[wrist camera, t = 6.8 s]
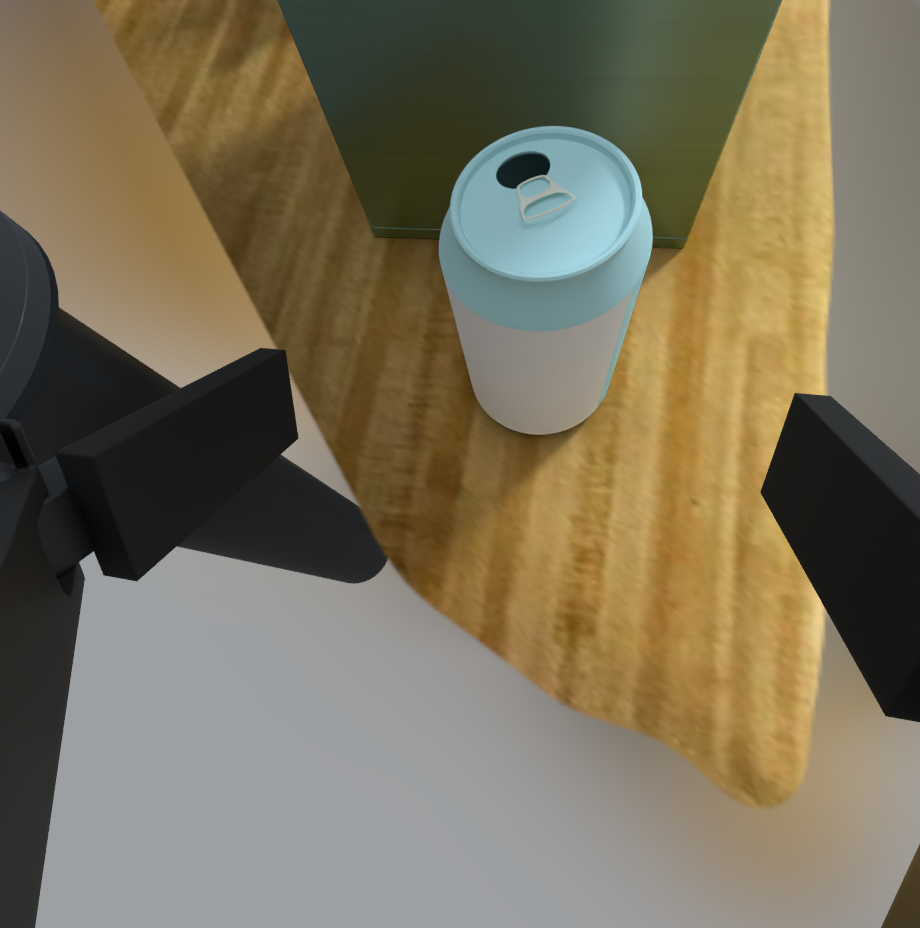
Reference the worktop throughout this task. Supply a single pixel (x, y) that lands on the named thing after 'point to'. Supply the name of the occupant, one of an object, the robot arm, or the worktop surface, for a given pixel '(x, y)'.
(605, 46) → the green open box
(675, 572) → the worktop surface
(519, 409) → the can
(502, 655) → the worktop surface
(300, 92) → the worktop surface
